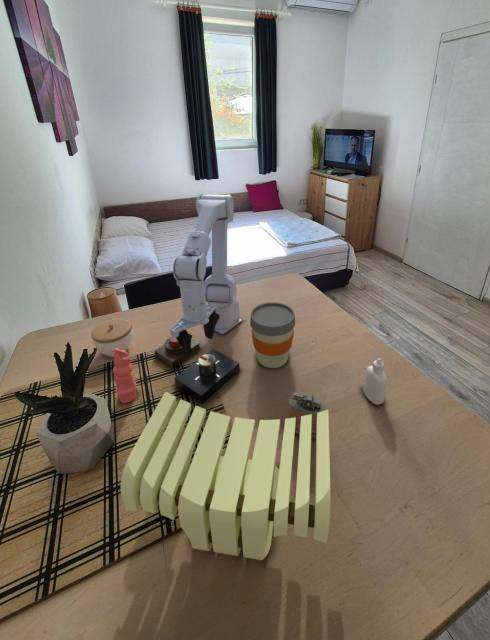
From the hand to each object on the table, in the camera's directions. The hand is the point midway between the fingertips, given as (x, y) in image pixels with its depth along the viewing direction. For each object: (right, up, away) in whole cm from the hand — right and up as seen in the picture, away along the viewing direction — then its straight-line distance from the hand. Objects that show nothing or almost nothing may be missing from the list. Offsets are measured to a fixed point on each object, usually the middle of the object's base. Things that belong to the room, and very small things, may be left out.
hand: (198, 345), depth 86 cm
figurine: (-17, -12, -4) cm, 21 cm away
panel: (+2, -9, +2) cm, 10 cm away
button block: (-9, -5, +11) cm, 15 cm away
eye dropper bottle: (+45, -12, -4) cm, 47 cm away
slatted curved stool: (+13, -22, -27) cm, 37 cm away
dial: (+2, -7, 0) cm, 7 cm away
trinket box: (-27, -5, +12) cm, 31 cm away
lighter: (+27, -16, -12) cm, 34 cm away
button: (-9, -2, +10) cm, 13 cm away
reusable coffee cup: (+20, -6, +10) cm, 23 cm away
